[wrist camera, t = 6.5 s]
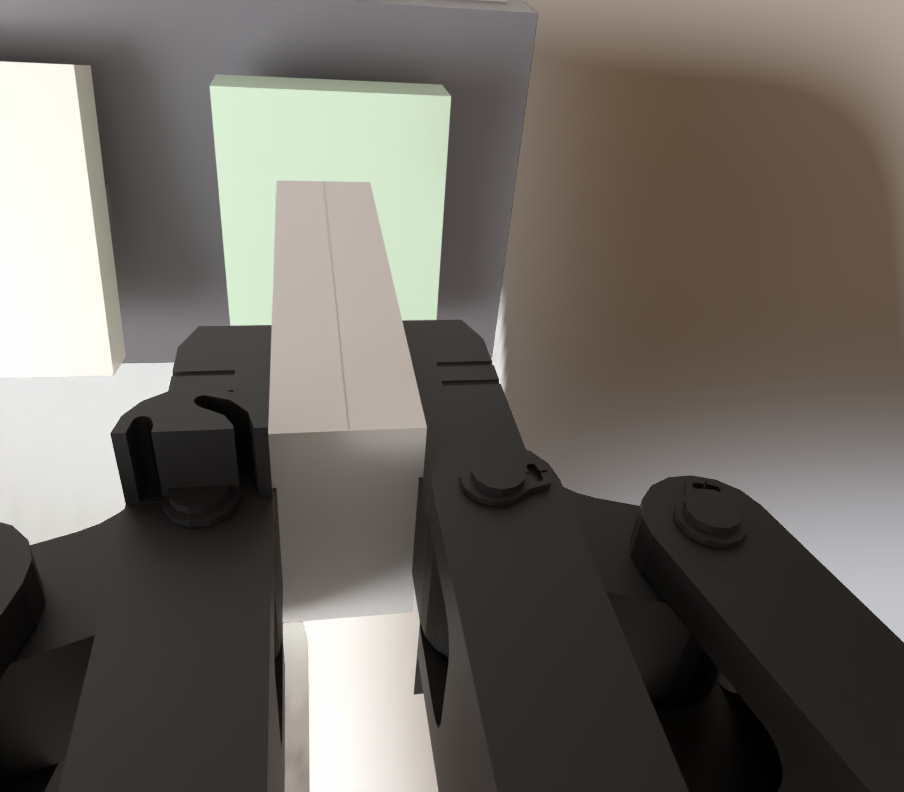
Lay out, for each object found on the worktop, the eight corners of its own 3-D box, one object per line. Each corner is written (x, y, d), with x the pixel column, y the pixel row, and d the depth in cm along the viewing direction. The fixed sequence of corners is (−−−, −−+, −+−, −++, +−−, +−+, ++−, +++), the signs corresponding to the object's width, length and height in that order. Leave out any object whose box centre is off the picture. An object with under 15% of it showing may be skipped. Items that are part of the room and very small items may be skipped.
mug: (557, 535, 36) (648, 791, 27) (531, 648, 41) (600, 898, 32) (299, 551, 34) (299, 833, 25) (305, 668, 39) (306, 940, 30)
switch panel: (-84, 297, 25) (-155, 386, 21) (-218, -72, 19) (-351, -43, 15) (470, 295, 28) (497, 373, 24) (505, -21, 22) (548, 14, 18)
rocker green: (238, 347, 21) (234, 372, 20) (215, 74, 18) (209, 86, 17) (426, 344, 22) (433, 368, 21) (441, 84, 19) (451, 96, 17)
